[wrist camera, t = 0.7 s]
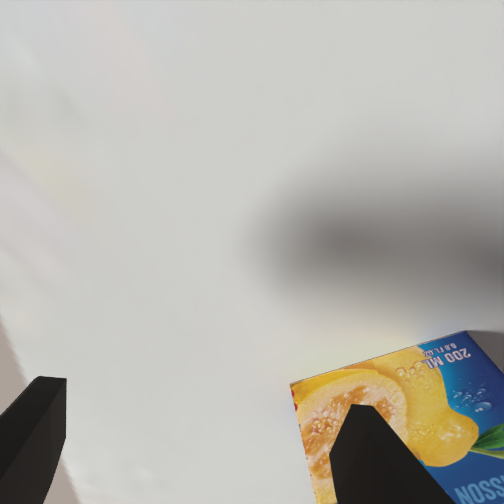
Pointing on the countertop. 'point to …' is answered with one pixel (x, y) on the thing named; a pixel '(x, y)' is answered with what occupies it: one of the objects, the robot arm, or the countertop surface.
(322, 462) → the beverage box
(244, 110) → the countertop surface
